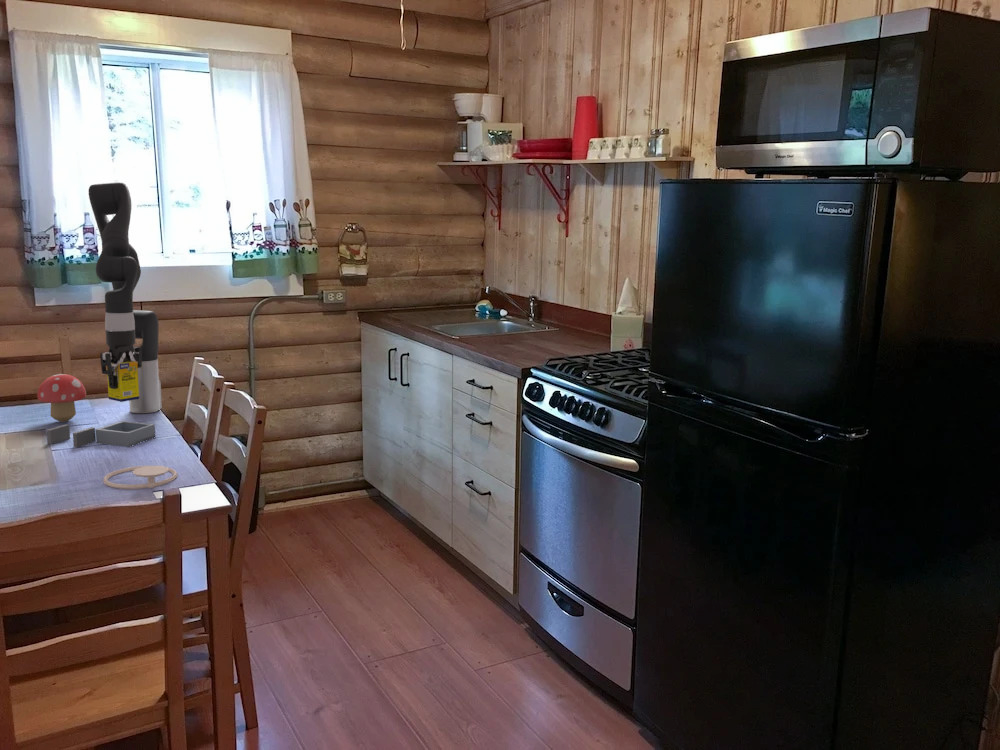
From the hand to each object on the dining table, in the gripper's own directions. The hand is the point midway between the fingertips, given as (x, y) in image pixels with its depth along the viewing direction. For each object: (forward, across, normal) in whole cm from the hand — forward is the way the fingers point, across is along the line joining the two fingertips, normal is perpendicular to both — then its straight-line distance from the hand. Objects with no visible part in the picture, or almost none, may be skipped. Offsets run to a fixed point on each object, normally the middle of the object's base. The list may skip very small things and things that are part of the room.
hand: (123, 385), depth 234 cm
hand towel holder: (+17, +28, +29) cm, 44 cm away
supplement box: (+4, 0, 0) cm, 4 cm away
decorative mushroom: (+16, -10, -31) cm, 37 cm away
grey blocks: (+16, +8, -12) cm, 21 cm away
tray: (+16, 0, 0) cm, 16 cm away
